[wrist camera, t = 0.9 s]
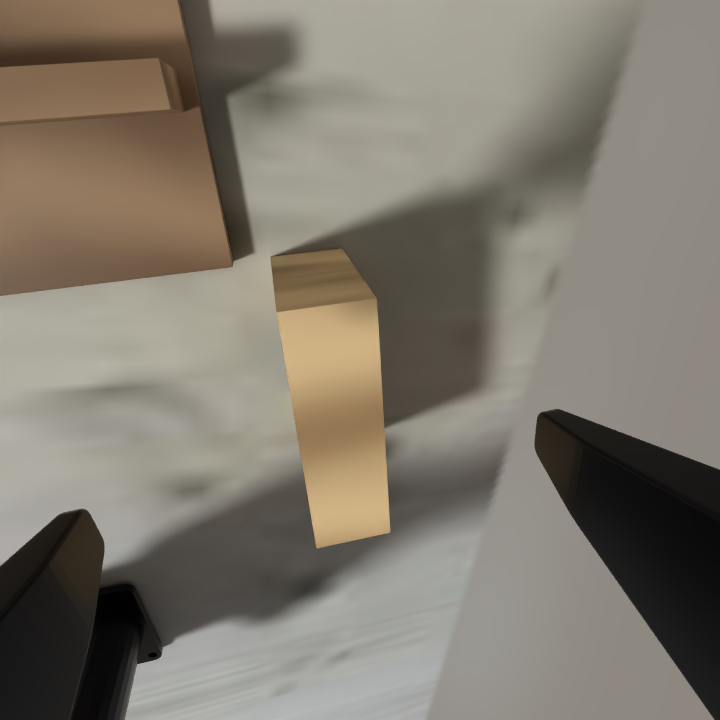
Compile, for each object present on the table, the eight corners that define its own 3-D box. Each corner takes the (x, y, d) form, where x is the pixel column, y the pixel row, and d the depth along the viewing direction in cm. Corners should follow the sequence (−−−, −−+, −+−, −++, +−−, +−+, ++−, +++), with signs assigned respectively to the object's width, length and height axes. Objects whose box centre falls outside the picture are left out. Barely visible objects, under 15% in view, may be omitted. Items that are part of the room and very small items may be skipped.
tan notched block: (359, 437, 24) (390, 532, 18) (302, 448, 24) (316, 548, 18) (342, 248, 19) (376, 298, 14) (270, 256, 19) (276, 312, 13)
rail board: (233, 261, 19) (228, 291, 15) (-37, 294, 17) (-106, 335, 14) (148, -152, 13) (112, -247, 10) (-263, -154, 12) (-471, -266, 8)
